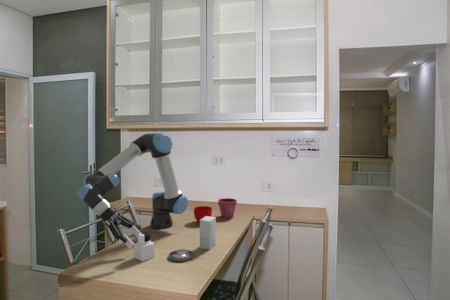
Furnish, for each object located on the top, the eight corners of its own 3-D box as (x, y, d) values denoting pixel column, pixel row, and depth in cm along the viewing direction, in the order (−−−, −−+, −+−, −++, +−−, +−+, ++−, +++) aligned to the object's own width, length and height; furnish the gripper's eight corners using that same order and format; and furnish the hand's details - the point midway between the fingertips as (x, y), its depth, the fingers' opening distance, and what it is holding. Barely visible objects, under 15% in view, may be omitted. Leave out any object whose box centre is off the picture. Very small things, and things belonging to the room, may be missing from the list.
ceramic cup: (201, 227, 181) (201, 212, 181) (190, 221, 195) (190, 207, 195) (218, 224, 188) (218, 210, 188) (206, 218, 203) (206, 205, 202)
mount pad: (170, 252, 141) (170, 249, 140) (194, 251, 141) (194, 249, 141) (166, 262, 129) (166, 259, 129) (192, 261, 129) (192, 259, 129)
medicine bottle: (146, 253, 139) (146, 230, 139) (154, 257, 135) (154, 233, 134) (133, 257, 134) (133, 233, 133) (142, 261, 129) (142, 236, 129)
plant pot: (232, 213, 218) (232, 197, 217) (239, 217, 205) (239, 200, 204) (215, 215, 212) (215, 198, 212) (222, 219, 199) (222, 202, 199)
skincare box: (205, 243, 153) (205, 215, 153) (216, 244, 151) (216, 216, 150) (199, 248, 145) (199, 219, 145) (210, 250, 143) (210, 220, 143)
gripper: (109, 209, 145) (138, 237, 145) (87, 223, 120) (122, 257, 120) (119, 199, 145) (148, 227, 145) (99, 211, 120) (134, 245, 121)
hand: (136, 241), depth 133 cm, fingers open, 13 cm apart
